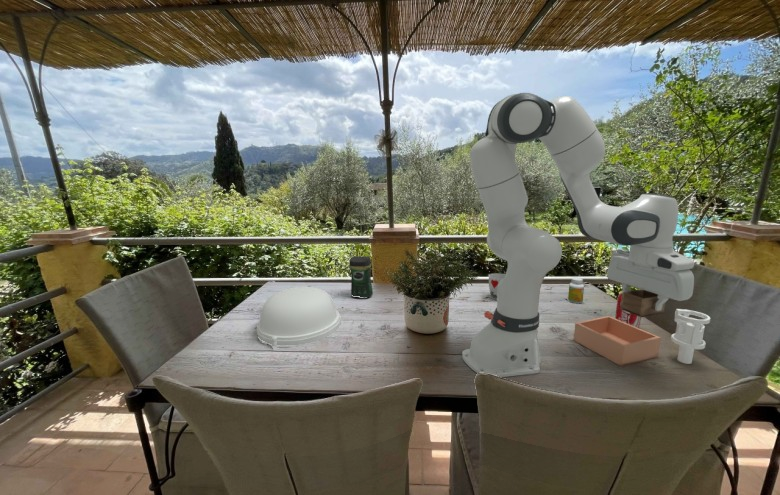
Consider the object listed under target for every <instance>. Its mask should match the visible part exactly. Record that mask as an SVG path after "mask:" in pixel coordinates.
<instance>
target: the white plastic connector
mask: <svg viewBox="0 0 780 495" xmlns="http://www.w3.org/2000/svg"><path fill="white" fill-rule="evenodd" d="M690 316H694V317H695V316H696V317H699V318H701V319H697V318H694V317H690ZM673 320H674V322H675V323H676V328H675V333H672V334H671V337H670V341H671V342H672V343H674V344H676V345H677V346H679V347H678V352H677V354H678V355H677V358H676V359H677V361H678V362H680V363H682V364H686V365H687V364H688V365H690V364H692V363H693V356H694V353H695V350H704V349H705V348H706V344H707V343H706V341H705V340H704V339H703V338H704V333H705V327H706V326H705V325H708V324H710V323H711V316H709V315H708V314H706V313H703V312H700V311H695V310H691V309H686V308H685V309H682V308H676V309H675V312H674V319H673Z"/></svg>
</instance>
